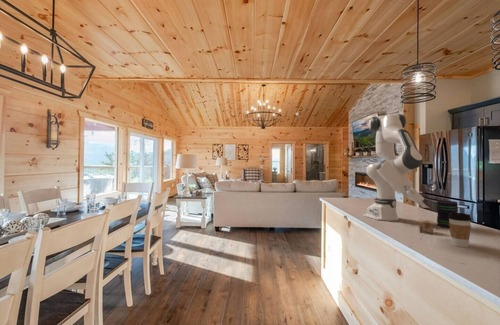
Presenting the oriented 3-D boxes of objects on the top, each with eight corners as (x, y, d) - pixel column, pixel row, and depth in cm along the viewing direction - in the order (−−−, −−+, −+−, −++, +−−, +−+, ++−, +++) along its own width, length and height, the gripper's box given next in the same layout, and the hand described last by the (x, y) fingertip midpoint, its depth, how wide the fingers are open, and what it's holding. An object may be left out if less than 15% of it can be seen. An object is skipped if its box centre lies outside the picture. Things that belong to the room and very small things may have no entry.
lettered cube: (419, 232, 132) (419, 221, 132) (420, 230, 137) (419, 219, 137) (433, 234, 128) (432, 223, 128) (433, 231, 133) (432, 220, 133)
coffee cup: (454, 247, 109) (453, 214, 109) (444, 241, 117) (444, 211, 117) (476, 249, 106) (476, 215, 106) (465, 242, 114) (465, 211, 114)
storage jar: (462, 229, 137) (462, 203, 137) (443, 228, 139) (443, 203, 139) (451, 224, 147) (450, 200, 147) (433, 224, 149) (433, 200, 149)
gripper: (412, 182, 116) (436, 205, 112) (404, 181, 135) (424, 201, 130) (401, 190, 118) (424, 213, 113) (395, 188, 136) (414, 208, 132)
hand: (424, 206), depth 122 cm, fingers closed
